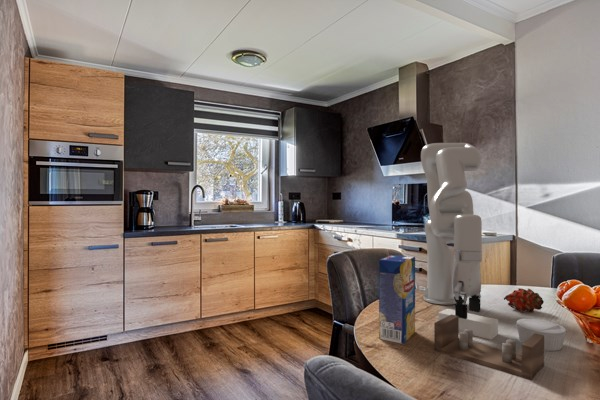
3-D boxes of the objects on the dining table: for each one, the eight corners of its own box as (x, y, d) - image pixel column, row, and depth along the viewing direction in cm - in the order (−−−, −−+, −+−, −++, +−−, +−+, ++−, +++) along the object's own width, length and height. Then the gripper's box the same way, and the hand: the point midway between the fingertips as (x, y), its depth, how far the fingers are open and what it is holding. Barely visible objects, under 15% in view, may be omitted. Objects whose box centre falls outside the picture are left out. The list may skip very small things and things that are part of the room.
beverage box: (415, 331, 109) (415, 256, 109) (403, 344, 100) (403, 262, 100) (392, 327, 113) (392, 254, 113) (378, 338, 104) (379, 259, 104)
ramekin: (567, 357, 92) (567, 335, 92) (515, 347, 98) (515, 327, 98) (564, 342, 102) (564, 322, 102) (517, 334, 108) (517, 316, 108)
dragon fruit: (547, 319, 125) (506, 318, 132) (545, 300, 131) (507, 299, 138) (542, 302, 121) (501, 301, 128) (541, 283, 127) (502, 283, 134)
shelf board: (438, 327, 114) (438, 312, 114) (447, 322, 118) (447, 308, 118) (490, 340, 103) (490, 324, 103) (498, 335, 107) (498, 319, 107)
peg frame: (434, 350, 96) (434, 322, 96) (451, 339, 103) (451, 314, 103) (532, 379, 80) (532, 347, 80) (544, 365, 87) (544, 335, 87)
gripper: (466, 252, 119) (467, 306, 119) (442, 257, 107) (442, 317, 107) (491, 255, 114) (492, 311, 113) (469, 260, 102) (469, 323, 101)
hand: (468, 314), depth 110 cm, fingers open, 9 cm apart
